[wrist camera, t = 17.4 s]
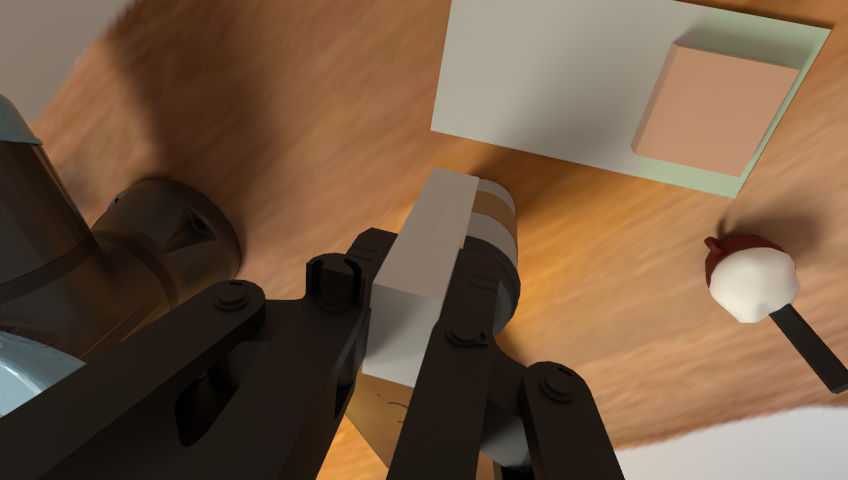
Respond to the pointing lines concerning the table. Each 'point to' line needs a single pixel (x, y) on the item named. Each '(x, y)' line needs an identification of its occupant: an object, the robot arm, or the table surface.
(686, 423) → the table surface
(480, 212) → the coffee cup
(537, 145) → the mat
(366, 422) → the diary
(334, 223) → the table surface
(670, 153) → the tile
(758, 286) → the cocoa
